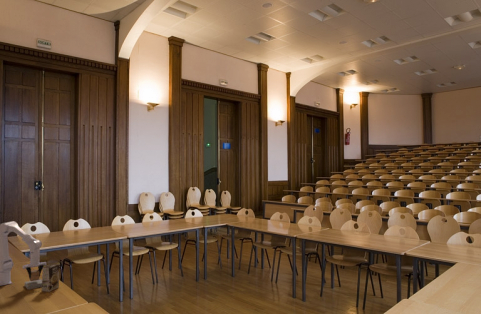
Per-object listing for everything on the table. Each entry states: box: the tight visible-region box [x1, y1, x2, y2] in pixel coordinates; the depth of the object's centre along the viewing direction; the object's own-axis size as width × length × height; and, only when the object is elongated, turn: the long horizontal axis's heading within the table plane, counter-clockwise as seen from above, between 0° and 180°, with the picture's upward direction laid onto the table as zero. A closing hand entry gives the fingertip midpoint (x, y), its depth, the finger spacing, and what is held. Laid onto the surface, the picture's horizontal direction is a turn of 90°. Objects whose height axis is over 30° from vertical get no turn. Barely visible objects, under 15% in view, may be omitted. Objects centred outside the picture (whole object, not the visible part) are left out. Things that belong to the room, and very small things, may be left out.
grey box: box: [24, 278, 42, 290], centre depth 248 cm, size 10×10×3 cm
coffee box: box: [41, 263, 60, 293], centre depth 243 cm, size 9×6×16 cm
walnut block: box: [29, 269, 40, 281], centre depth 249 cm, size 5×5×6 cm
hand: (34, 277), depth 248 cm, fingers closed on walnut block, 5 cm apart
